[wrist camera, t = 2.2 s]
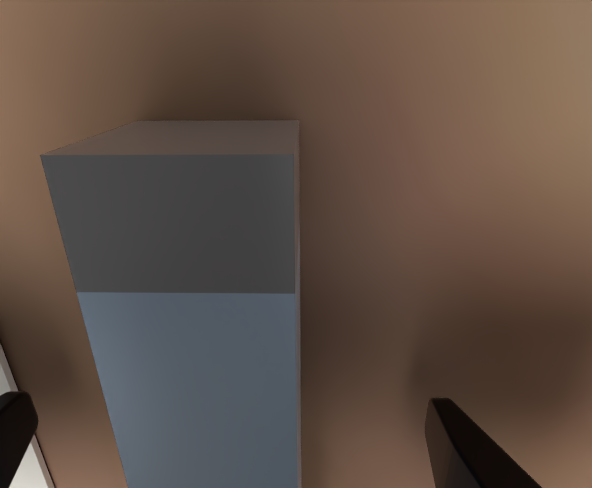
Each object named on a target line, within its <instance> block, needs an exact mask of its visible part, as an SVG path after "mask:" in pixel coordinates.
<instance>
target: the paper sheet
mask: <svg viewBox="0 0 592 488" xmlns="http://www.w3.org/2000/svg"><path fill="white" fill-rule="evenodd" d="M9 391H18V389H17V387H16V384H15V381H14V379H13V376H12V373H11V371H10V368H9V365H8V363H7V360H6V357H5V354H4V352H3V349H2V346H1V344H0V395H2V394H4V393H6V392H9ZM9 488H54V485H53V483H52V480H51V477H50V475H49V472H48V469H47V467H46V464H45V461H44V459H43V456H42V453H41V451H40V448H39V445H38V443H37V440H36V437H35V435H34V436H33V438H32V440H31V442H30V444H29V446H28V449H27V451H26V453H25V455H24V457H23V459H22V461H21V463H20V466H19V468H18V470H17V472H16V474H15V476H14V478H13V481H12V483H11V485H10V487H9Z"/></svg>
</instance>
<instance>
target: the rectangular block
mask: <svg viewBox="0 0 592 488" xmlns="http://www.w3.org/2000/svg"><path fill="white" fill-rule="evenodd" d="M40 157H41V160H42V164H43V168H44V172H45V176H46V179H47V183H48V187H49V191H50V194H51V198H52V202H53V206H54V210H55V213H56V217H57V221H58V225H59V228H60V232H61V236H62V240H63V244H64V247H65V251H66V255H67V259H68V262H69V266H70V270H71V274H72V277H73V281H74V285H75V289H76V293H77V296H78V300H79V304H80V308H81V311H82V315H83V319H84V323H85V327H86V330H87V334H88V338H89V342H90V345H91V349H92V353H93V357H94V361H95V364H96V368H97V372H98V376H99V379H100V383H101V387H102V391H103V395H104V398H105V402H106V406H107V410H108V413H109V417H110V421H111V425H112V429H113V432H114V436H115V440H116V444H117V447H118V451H119V455H120V459H121V462H122V466H123V470H124V474H125V478H126V481H127V485H128V488H301V347H300V177H299V120H199V121H135V122H132V123H129V124H126V125H124V126H121V127H118V128H115V129H112V130H110V131H107V132H104V133H101V134H98V135H95V136H93V137H90V138H87V139H84V140H81V141H79V142H76V143H73V144H70V145H67V146H64V147H62V148H59V149H56V150H53V151H50V152H48V153H45V154H42V155H40Z"/></svg>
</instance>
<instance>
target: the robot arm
mask: <svg viewBox="0 0 592 488" xmlns="http://www.w3.org/2000/svg"><path fill="white" fill-rule="evenodd" d="M37 426H38V416H37V413H36V410H35V407H34V405H33V402H32V399H31V396H30V395H29V394H28V393H27V392H25V391H9V392H6V393H4V394H2V395H0V488H9V487H10V485H11V483H12V481H13V478H14V476H15V474H16V472H17V470H18V468H19V466H20V463H21V461H22V459H23V457H24V455H25V453H26V451H27V449H28V446H29V444H30V442H31V440H32V438H33V436H34V434H35V431H36V429H37ZM425 436H426V441H427V446H428V451H429V456H430V461H431V466H432V471H433V476H434V481H435V487H436V488H542V487H541V486H540V485H539V484H538V483H537V482H536V481H535V480H534V479H533V478H532V477H531V476H530V475H528V474H527V473H526V472H525V471H524V470H523V469H522V468H521V467H520V466H519V465H518V464H517V463H516V462H515V461H514V460H513V459H512V458H511V457H510V456H509V455H508V454H507V453H506V452H505V451H504V450H503V449H502V448H501V447H500V446H499V445H497V444H496V443H495V442H494V441H493V440H492V439H491V438H490V437H489V436H488V435H487V434H486V433H485V432H484V431H483V430H482V429H481V428H480V427H479V426H478V425H477V424H476V423H475V422H474V421H473V420H472V419H471V418H470V417H469V416H468V415H466V414H465V413H464V412H463V411H462V410H461V409H460V408H459V407H458V406H457V405H456V404H455V403H454V402H453V401H452V400H451V399H449V398H431V399H430V400H429V403H428V409H427V415H426V421H425Z"/></svg>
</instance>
